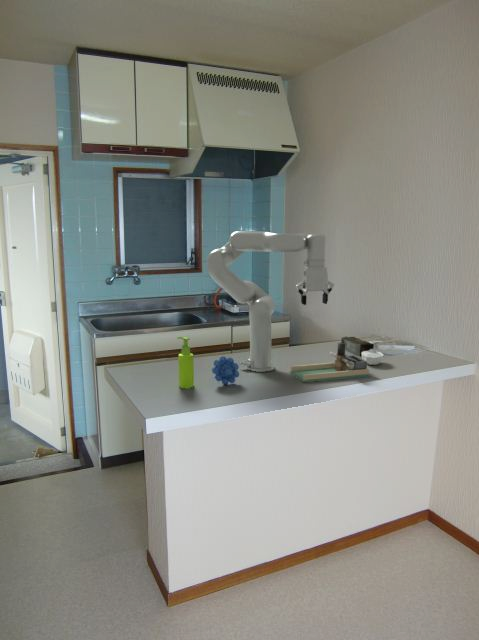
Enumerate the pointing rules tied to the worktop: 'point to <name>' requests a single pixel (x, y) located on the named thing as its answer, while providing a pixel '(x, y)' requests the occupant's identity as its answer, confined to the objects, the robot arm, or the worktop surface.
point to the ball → (350, 366)
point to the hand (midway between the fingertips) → (314, 303)
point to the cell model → (372, 356)
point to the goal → (357, 362)
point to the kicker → (341, 358)
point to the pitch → (324, 372)
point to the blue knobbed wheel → (225, 370)
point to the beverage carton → (356, 345)
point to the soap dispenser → (186, 365)
